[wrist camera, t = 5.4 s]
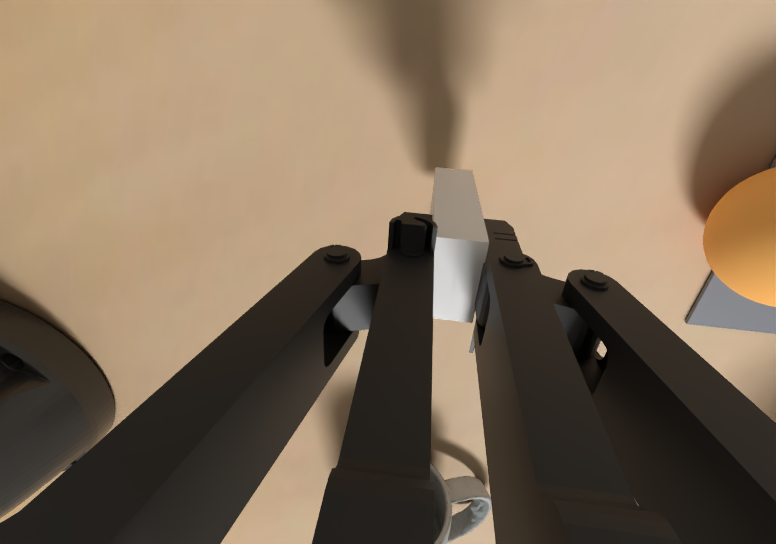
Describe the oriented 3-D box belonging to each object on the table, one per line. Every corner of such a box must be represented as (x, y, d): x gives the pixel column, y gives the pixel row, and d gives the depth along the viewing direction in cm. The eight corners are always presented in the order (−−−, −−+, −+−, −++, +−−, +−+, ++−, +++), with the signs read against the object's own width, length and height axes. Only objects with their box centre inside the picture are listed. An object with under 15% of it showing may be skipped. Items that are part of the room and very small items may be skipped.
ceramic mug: (352, 508, 33) (333, 626, 27) (342, 444, 29) (317, 564, 23) (484, 517, 32) (497, 642, 26) (493, 451, 28) (512, 580, 22)
